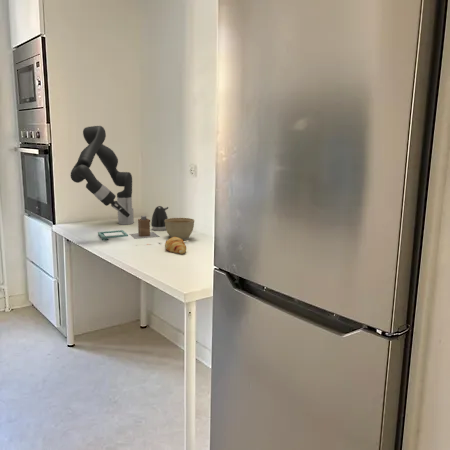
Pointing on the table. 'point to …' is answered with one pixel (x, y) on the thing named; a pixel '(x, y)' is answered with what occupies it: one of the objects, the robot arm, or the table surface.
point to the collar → (144, 227)
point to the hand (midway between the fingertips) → (126, 214)
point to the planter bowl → (179, 227)
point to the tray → (111, 236)
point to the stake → (136, 236)
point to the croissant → (175, 245)
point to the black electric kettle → (159, 218)
